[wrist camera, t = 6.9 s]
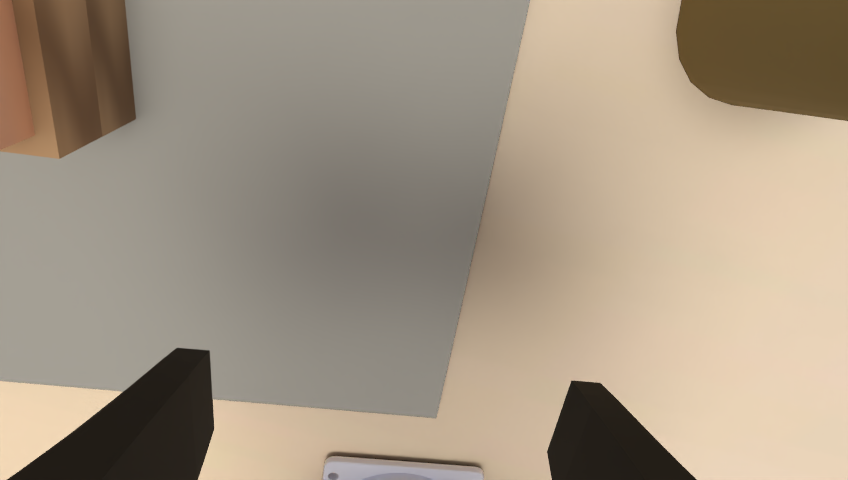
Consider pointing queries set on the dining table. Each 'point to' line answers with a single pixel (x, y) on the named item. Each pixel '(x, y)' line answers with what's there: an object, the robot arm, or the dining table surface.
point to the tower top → (57, 77)
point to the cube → (12, 83)
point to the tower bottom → (111, 62)
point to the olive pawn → (768, 53)
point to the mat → (268, 203)
